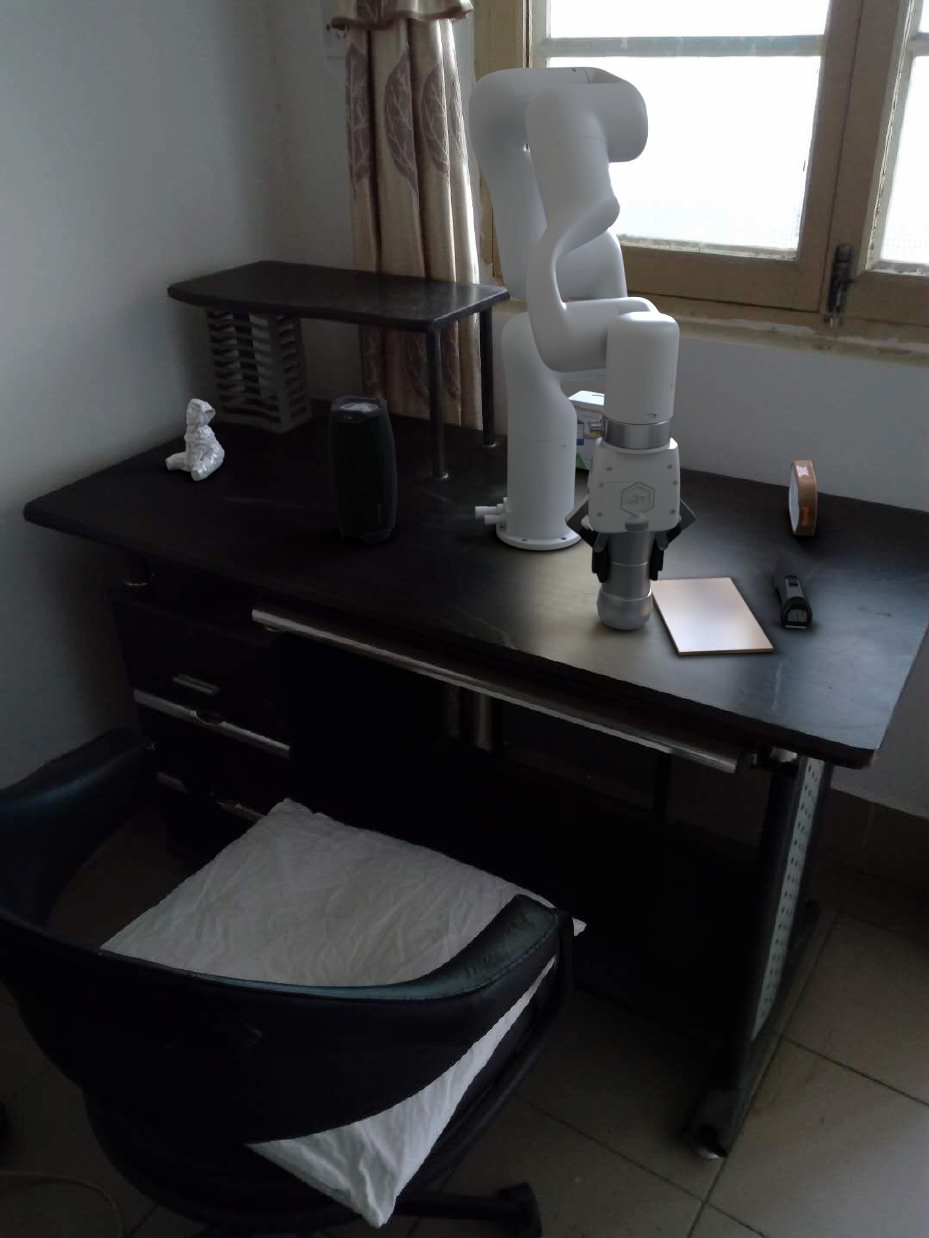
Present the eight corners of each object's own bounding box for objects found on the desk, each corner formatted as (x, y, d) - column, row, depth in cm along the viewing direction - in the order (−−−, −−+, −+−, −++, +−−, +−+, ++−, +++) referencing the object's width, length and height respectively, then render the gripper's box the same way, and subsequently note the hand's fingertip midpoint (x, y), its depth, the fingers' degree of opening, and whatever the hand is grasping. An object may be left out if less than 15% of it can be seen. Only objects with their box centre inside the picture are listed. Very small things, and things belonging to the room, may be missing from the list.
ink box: (622, 466, 169) (627, 397, 163) (608, 475, 165) (612, 405, 160) (577, 456, 173) (580, 389, 168) (562, 465, 170) (565, 397, 164)
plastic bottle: (645, 640, 119) (661, 481, 110) (589, 631, 121) (599, 474, 112) (654, 614, 125) (670, 461, 115) (601, 606, 127) (611, 455, 117)
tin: (814, 546, 141) (823, 489, 137) (790, 544, 142) (799, 488, 138) (804, 504, 154) (813, 451, 150) (783, 503, 154) (791, 450, 150)
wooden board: (678, 655, 116) (679, 651, 116) (646, 583, 132) (646, 580, 132) (773, 651, 117) (773, 648, 117) (729, 580, 132) (729, 577, 132)
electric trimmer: (797, 573, 134) (801, 551, 133) (812, 629, 121) (816, 605, 120) (768, 571, 135) (771, 549, 134) (780, 627, 122) (783, 603, 120)
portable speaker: (333, 524, 150) (322, 395, 141) (395, 519, 151) (389, 391, 142) (337, 548, 143) (325, 414, 133) (402, 542, 144) (396, 409, 135)
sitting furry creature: (163, 469, 171) (151, 400, 165) (205, 455, 177) (195, 388, 171) (197, 482, 166) (186, 411, 160) (239, 467, 171) (230, 398, 165)
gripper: (563, 444, 107) (558, 594, 116) (722, 439, 108) (705, 588, 117) (554, 422, 114) (550, 565, 123) (704, 417, 115) (689, 560, 124)
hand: (626, 575), depth 120 cm, fingers closed on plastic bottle, 5 cm apart
